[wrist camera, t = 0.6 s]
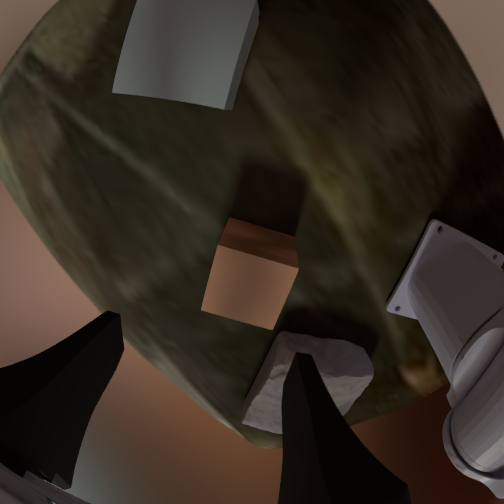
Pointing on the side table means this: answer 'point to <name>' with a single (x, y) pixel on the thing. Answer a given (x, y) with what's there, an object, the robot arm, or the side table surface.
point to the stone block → (329, 366)
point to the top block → (187, 50)
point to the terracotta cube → (251, 274)
